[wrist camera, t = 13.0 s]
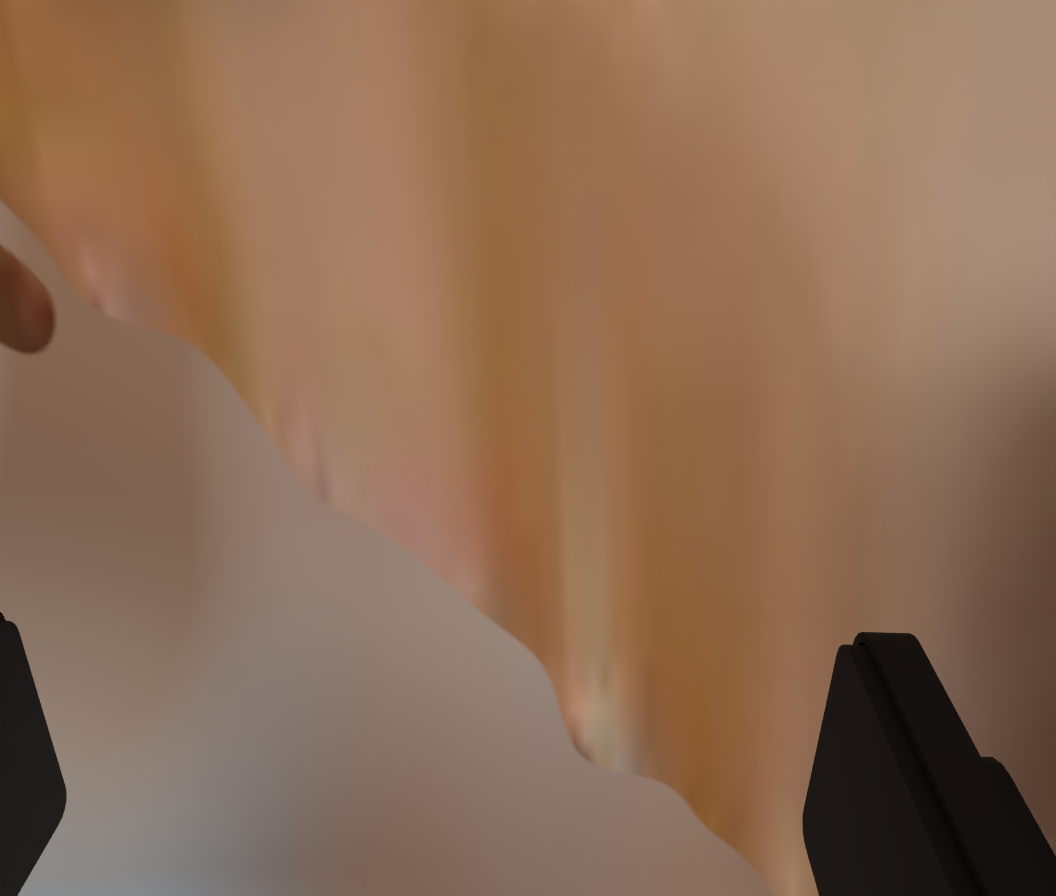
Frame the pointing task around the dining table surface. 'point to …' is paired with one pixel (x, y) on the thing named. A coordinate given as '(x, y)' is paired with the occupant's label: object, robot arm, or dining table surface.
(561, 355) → the dining table surface
